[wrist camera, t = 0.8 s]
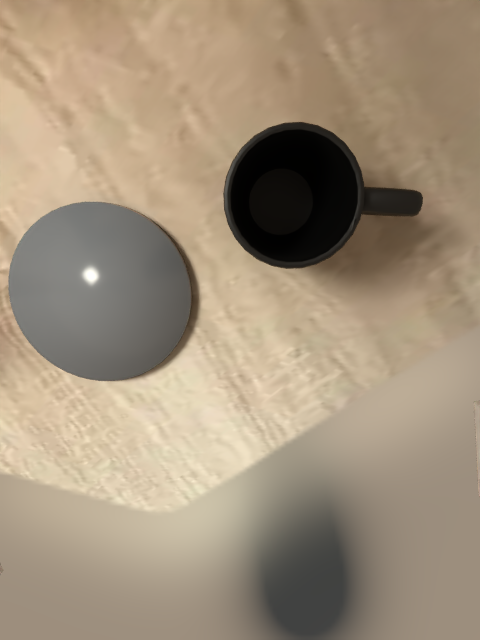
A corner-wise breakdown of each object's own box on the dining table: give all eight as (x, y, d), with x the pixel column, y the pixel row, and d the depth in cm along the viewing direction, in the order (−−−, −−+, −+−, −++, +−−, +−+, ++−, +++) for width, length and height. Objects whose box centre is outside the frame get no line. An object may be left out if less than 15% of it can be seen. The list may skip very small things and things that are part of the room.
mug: (371, 261, 34) (417, 278, 25) (226, 250, 34) (218, 264, 25) (387, 155, 32) (443, 132, 23) (233, 143, 32) (228, 115, 23)
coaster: (-22, 268, 35) (-30, 269, 34) (120, 163, 33) (116, 162, 32) (88, 406, 38) (84, 411, 37) (226, 319, 36) (225, 322, 35)
